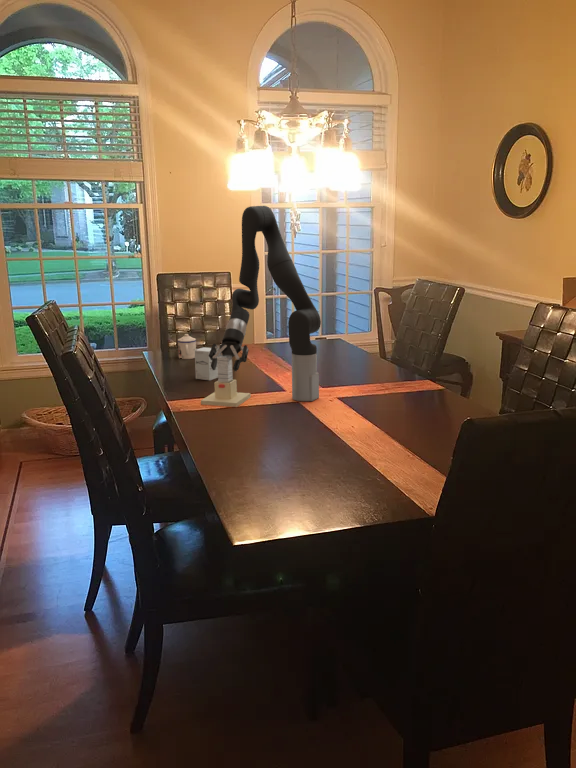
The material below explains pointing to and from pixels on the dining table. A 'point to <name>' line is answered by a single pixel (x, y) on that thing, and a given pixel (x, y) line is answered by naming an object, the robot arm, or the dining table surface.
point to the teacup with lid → (187, 347)
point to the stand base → (226, 395)
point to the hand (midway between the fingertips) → (223, 369)
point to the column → (225, 368)
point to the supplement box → (204, 365)
